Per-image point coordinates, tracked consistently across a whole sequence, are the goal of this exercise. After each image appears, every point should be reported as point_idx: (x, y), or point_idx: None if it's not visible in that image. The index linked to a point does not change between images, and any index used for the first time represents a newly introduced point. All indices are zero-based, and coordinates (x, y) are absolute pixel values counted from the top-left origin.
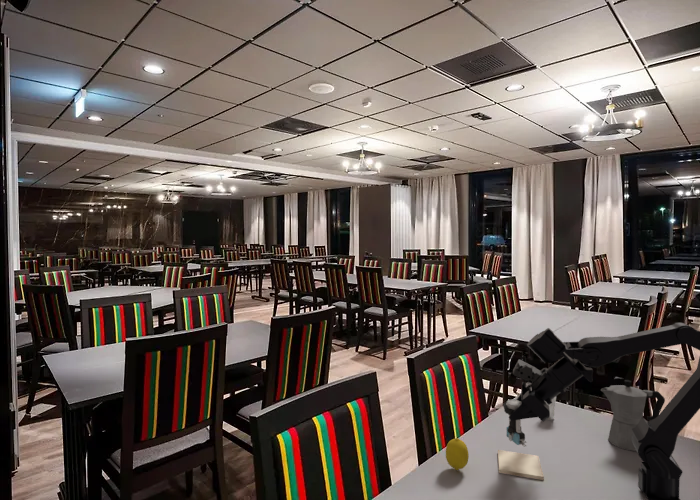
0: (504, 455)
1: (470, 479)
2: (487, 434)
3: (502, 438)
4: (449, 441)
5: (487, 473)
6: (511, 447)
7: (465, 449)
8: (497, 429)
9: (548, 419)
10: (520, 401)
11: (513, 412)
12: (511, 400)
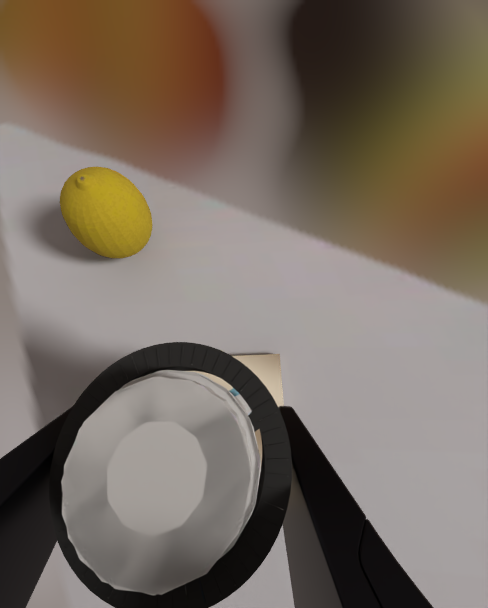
0: None
1: (89, 281)
2: (397, 318)
3: (392, 370)
4: (101, 167)
5: (135, 325)
6: (337, 402)
7: (76, 227)
8: (457, 352)
9: None
10: (198, 574)
11: (18, 446)
12: (206, 436)
